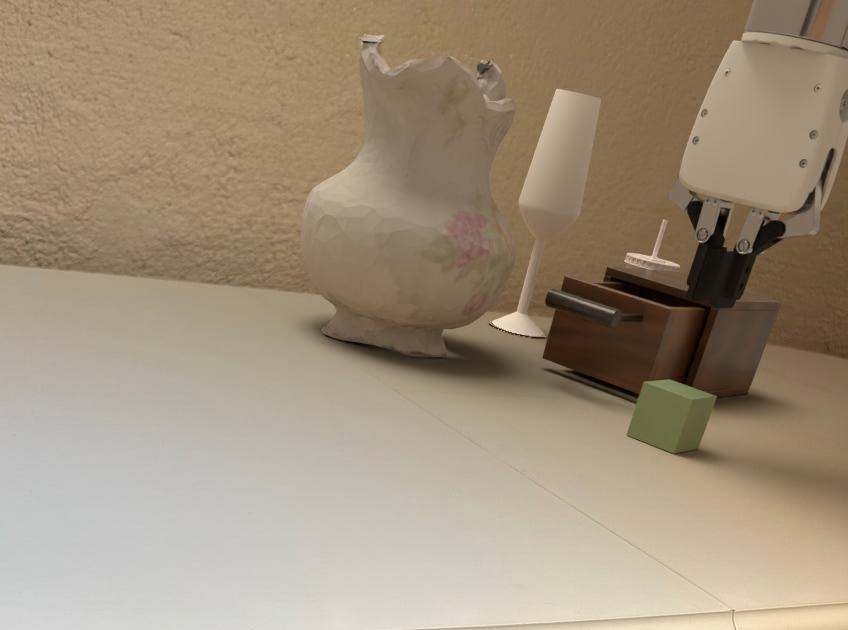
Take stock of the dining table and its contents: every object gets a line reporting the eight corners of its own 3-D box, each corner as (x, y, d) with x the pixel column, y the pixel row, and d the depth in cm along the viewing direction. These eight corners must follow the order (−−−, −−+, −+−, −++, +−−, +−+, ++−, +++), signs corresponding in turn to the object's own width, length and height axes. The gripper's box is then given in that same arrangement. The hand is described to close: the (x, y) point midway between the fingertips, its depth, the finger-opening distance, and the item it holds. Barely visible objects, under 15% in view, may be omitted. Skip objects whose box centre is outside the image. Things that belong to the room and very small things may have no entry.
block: (698, 448, 85) (717, 396, 83) (674, 454, 82) (693, 399, 80) (651, 430, 87) (669, 379, 85) (626, 435, 84) (643, 381, 82)
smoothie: (598, 339, 123) (635, 214, 116) (604, 332, 128) (640, 212, 122) (652, 353, 121) (692, 227, 115) (655, 345, 127) (694, 225, 121)
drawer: (611, 399, 90) (639, 308, 87) (507, 360, 96) (529, 273, 93) (707, 388, 104) (735, 309, 101) (611, 354, 110) (634, 278, 107)
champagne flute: (555, 336, 119) (620, 103, 108) (531, 340, 113) (596, 96, 102) (504, 320, 121) (562, 91, 110) (478, 323, 116) (536, 83, 105)
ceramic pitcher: (342, 313, 111) (371, 46, 100) (520, 346, 106) (571, 71, 95) (258, 342, 92) (283, 17, 81) (470, 383, 88) (527, 45, 77)
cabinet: (686, 402, 101) (721, 301, 96) (578, 362, 107) (606, 266, 103) (747, 393, 111) (782, 302, 107) (646, 358, 118) (674, 271, 113)
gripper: (932, 56, 70) (823, 332, 78) (723, 26, 78) (644, 278, 86) (898, 34, 64) (785, 333, 73) (677, 4, 73) (598, 276, 81)
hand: (709, 302), depth 79 cm, fingers closed
